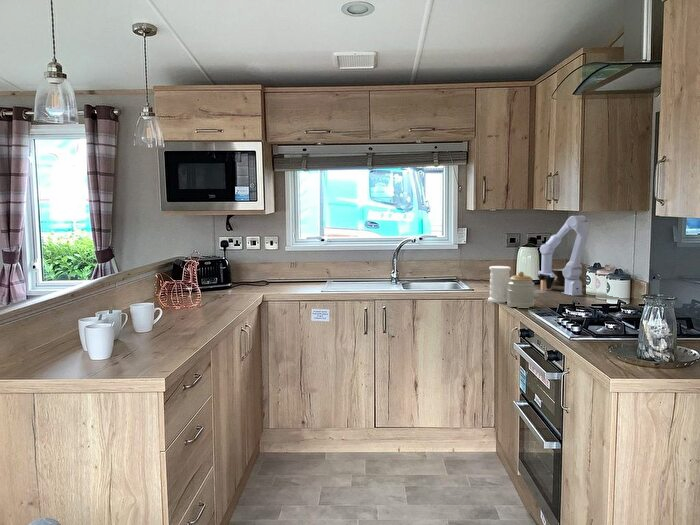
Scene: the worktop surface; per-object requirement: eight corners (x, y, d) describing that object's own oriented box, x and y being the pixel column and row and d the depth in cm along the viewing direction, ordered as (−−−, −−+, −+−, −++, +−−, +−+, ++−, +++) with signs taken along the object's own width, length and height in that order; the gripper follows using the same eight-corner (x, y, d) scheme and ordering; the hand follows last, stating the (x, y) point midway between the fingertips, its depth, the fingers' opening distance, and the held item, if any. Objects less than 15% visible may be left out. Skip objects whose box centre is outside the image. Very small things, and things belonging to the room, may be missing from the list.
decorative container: (507, 298, 294) (508, 265, 292) (513, 302, 282) (513, 268, 280) (485, 298, 294) (486, 265, 292) (490, 302, 283) (491, 268, 281)
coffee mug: (568, 286, 331) (569, 270, 330) (554, 287, 332) (555, 270, 331) (561, 284, 343) (562, 268, 342) (548, 284, 343) (548, 268, 342)
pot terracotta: (552, 290, 317) (553, 280, 317) (543, 291, 317) (544, 281, 316) (547, 289, 323) (548, 279, 322) (538, 289, 322) (539, 279, 321)
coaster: (551, 293, 308) (551, 292, 308) (534, 294, 307) (534, 293, 307) (542, 290, 318) (542, 289, 318) (526, 291, 317) (526, 290, 316)
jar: (507, 308, 267) (508, 273, 265) (505, 303, 280) (506, 269, 278) (535, 309, 265) (536, 273, 263) (532, 304, 277) (533, 270, 275)
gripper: (559, 266, 312) (558, 289, 313) (546, 263, 326) (545, 285, 327) (548, 266, 310) (547, 290, 312) (535, 263, 325) (534, 286, 326)
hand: (545, 287), depth 320 cm, fingers closed on pot terracotta, 5 cm apart
